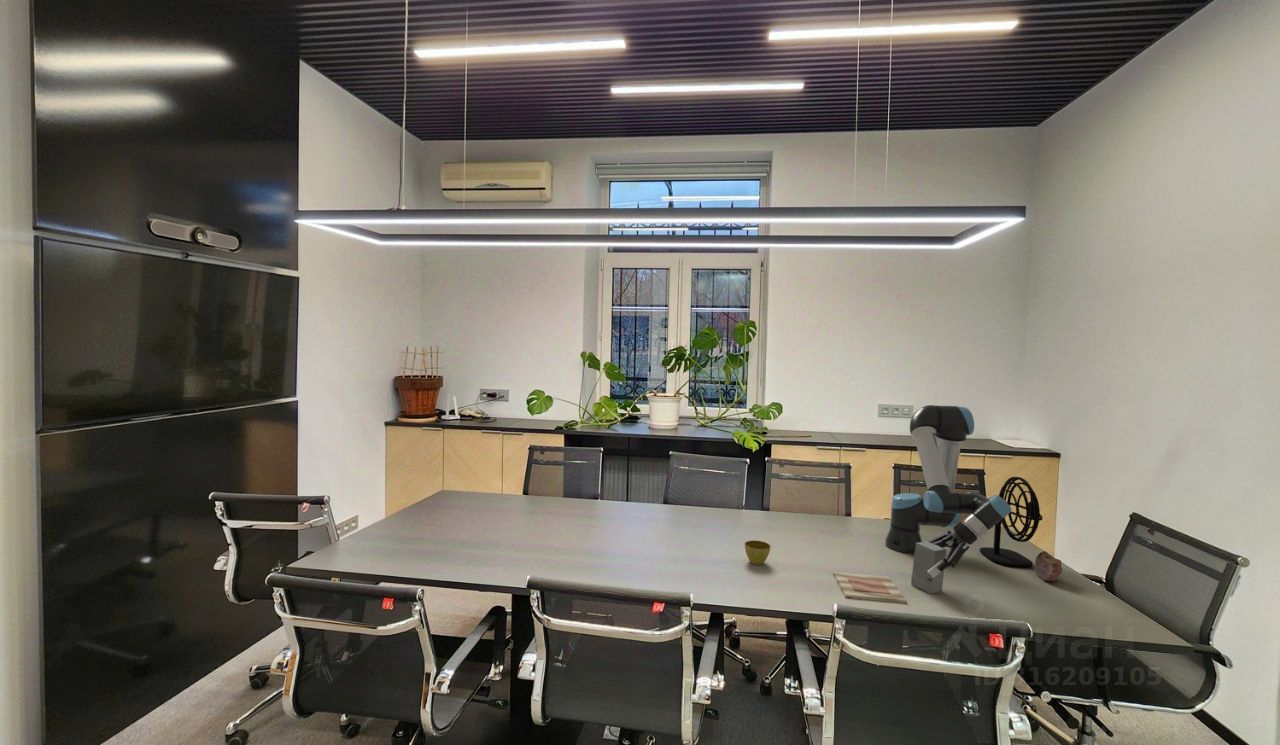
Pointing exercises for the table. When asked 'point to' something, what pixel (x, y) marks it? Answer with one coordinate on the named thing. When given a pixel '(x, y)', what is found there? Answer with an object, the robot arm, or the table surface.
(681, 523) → the table surface
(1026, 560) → the desk fan
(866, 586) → the seat board
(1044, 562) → the stone
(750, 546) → the flower pot
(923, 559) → the skincare box
